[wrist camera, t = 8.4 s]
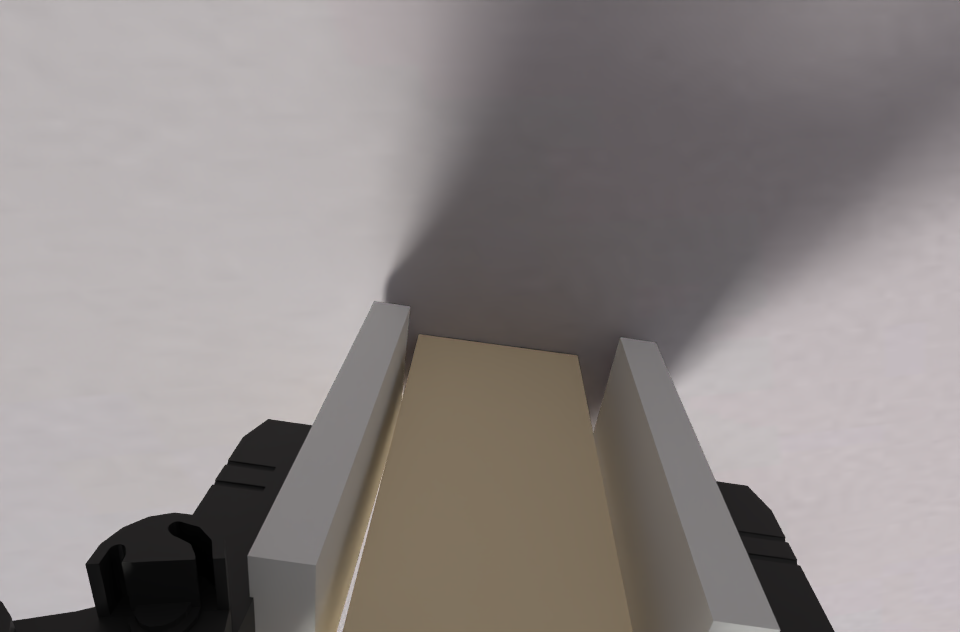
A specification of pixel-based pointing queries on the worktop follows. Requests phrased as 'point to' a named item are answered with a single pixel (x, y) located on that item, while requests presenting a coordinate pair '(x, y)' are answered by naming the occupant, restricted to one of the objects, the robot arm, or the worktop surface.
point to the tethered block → (490, 502)
